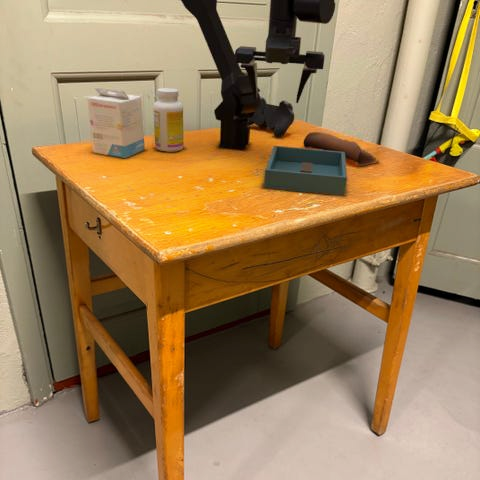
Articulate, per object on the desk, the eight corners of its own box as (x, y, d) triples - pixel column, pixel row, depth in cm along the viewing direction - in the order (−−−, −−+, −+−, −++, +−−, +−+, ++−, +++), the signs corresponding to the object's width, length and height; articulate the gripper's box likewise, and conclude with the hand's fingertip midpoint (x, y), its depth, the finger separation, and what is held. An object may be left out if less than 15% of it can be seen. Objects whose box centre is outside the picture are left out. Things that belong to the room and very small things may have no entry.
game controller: (292, 145, 140) (305, 109, 138) (280, 137, 134) (294, 98, 133) (244, 134, 148) (256, 99, 147) (231, 125, 142) (243, 89, 141)
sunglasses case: (381, 160, 121) (376, 136, 116) (361, 179, 120) (356, 156, 115) (326, 142, 133) (319, 119, 128) (307, 159, 131) (300, 137, 127)
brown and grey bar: (310, 183, 104) (311, 171, 103) (299, 182, 104) (300, 170, 103) (311, 166, 114) (313, 155, 112) (301, 166, 114) (303, 154, 112)
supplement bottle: (188, 147, 124) (188, 89, 117) (176, 154, 119) (175, 93, 112) (162, 143, 126) (161, 86, 119) (149, 150, 120) (147, 90, 113)
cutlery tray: (263, 188, 102) (265, 169, 100) (272, 161, 117) (274, 145, 116) (343, 195, 100) (347, 177, 98) (342, 168, 116) (344, 151, 114)
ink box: (145, 150, 120) (142, 87, 113) (124, 159, 113) (119, 93, 106) (114, 144, 123) (110, 83, 115) (92, 152, 116) (85, 87, 109)
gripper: (231, 18, 101) (228, 104, 109) (328, 25, 99) (317, 111, 107) (240, 16, 110) (236, 95, 118) (328, 22, 108) (318, 102, 117)
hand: (276, 101), depth 115 cm, fingers open, 9 cm apart
